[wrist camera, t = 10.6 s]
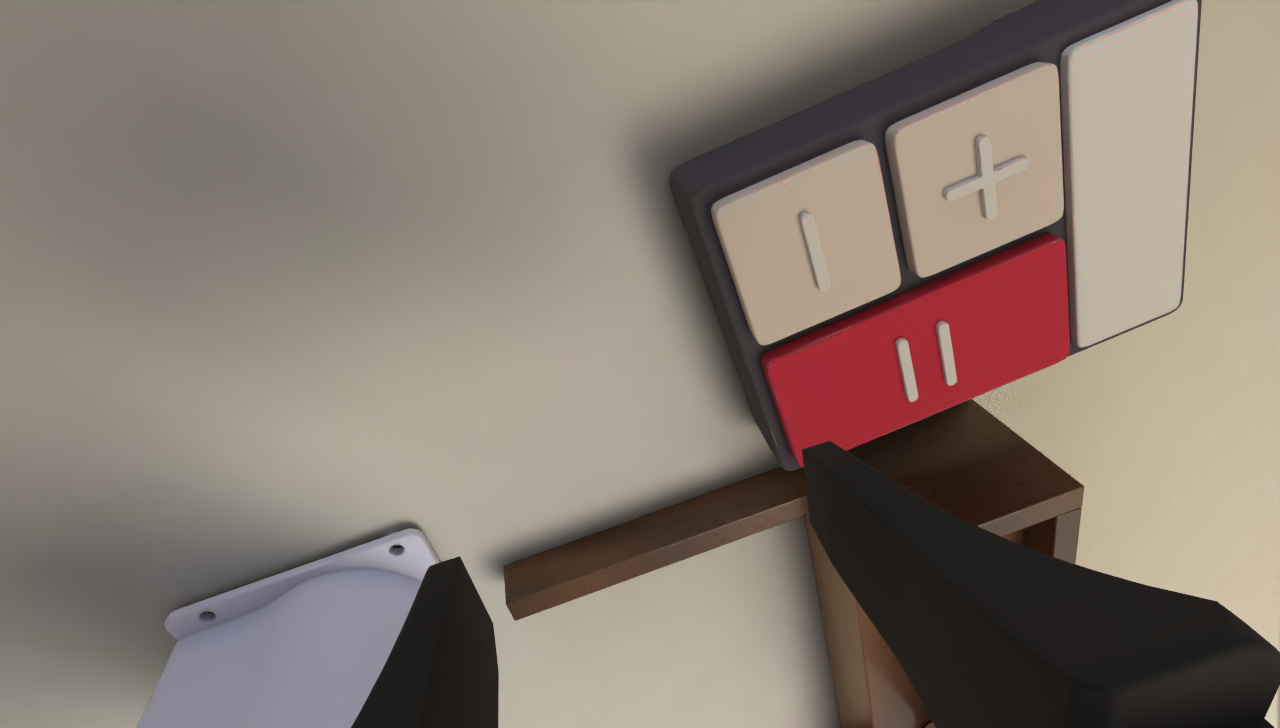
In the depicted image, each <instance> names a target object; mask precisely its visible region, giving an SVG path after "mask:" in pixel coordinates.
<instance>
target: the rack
mask: <svg viewBox="0 0 1280 728" xmlns="http://www.w3.org/2000/svg"><path fill="white" fill-rule="evenodd" d="M847 452H848V453H850V454H851V455H853V456H855V457H856V458H858V459H859V460H861V461H862V462H864V463H865V464H867V465H869V466H870V467H872V468H873V469H875V470H876V471H878V472H880V473H881V474H883V475H884V476H886V477H888V478H889V479H891V480H893V481H894V482H896V483H898V484H899V485H901V486H903V487H905V488H906V489H908V490H910V491H911V492H913V493H915V494H917V495H918V496H920V497H922V498H923V499H925V500H927V501H929V502H931V503H933V504H934V505H936V506H938V507H940V508H942V509H944V510H946V511H948V512H950V513H951V514H953V515H955V516H957V517H959V518H961V519H963V520H965V521H967V522H969V523H972V524H974V525H976V526H978V527H980V528H982V529H985V530H987V531H989V532H992V533H994V534H996V535H999V536H1001V537H1003V538H1006V539H1008V540H1010V541H1012V542H1015V543H1017V544H1020V545H1023V546H1025V547H1028V548H1030V549H1033V550H1035V551H1038V552H1041V553H1044V554H1047V555H1050V556H1052V557H1055V558H1058V559H1061V560H1064V561H1066V562H1069V563H1072V564H1075V561H1076V552H1077V544H1078V535H1079V526H1080V517H1081V507H1082V501H1083V492H1084V486H1083V485H1082V484H1081V483H1079V482H1078V481H1077V480H1075V479H1074V478H1073V477H1072V476H1070V475H1069V474H1068V473H1066V472H1065V471H1064V470H1062V469H1061V468H1060V467H1059V466H1057V465H1056V464H1055V463H1053V462H1052V461H1051V460H1050V459H1048V458H1047V457H1046V456H1044V455H1043V454H1042V453H1041V452H1039V451H1038V450H1037V449H1035V448H1034V447H1033V446H1032V445H1030V444H1029V443H1028V442H1026V441H1025V440H1024V439H1023V438H1021V437H1020V436H1019V435H1017V434H1016V433H1015V432H1014V431H1012V430H1011V429H1010V428H1008V427H1007V426H1006V425H1005V424H1003V423H1002V422H1001V421H999V420H998V419H997V418H996V417H994V416H993V415H992V414H990V413H989V412H988V411H987V410H985V409H984V408H983V407H981V406H980V405H979V404H978V403H976V402H975V401H974V400H972V399H970V400H967V401H965V402H962V403H960V404H957V405H955V406H953V407H950V408H948V409H945V410H943V411H941V412H938V413H936V414H933V415H931V416H929V417H926V418H924V419H921V420H919V421H917V422H914V423H912V424H909V425H907V426H905V427H902V428H900V429H897V430H895V431H893V432H890V433H888V434H885V435H883V436H881V437H878V438H876V439H873V440H871V441H869V442H866V443H864V444H861V445H859V446H857V447H854V448H852V449H850V450H847ZM804 515H805V520H806V526H807V532H808V537H809V543H810V549H811V555H812V560H813V566H814V572H815V577H816V583H817V589H818V595H819V600H820V606H821V612H822V618H823V623H824V629H825V635H826V641H827V646H828V652H829V658H830V664H831V669H832V675H833V681H834V687H835V692H836V698H837V704H838V709H839V715H840V721H841V727H842V728H924V727H926V726H927V725H928V724H929V723H932V722H933V721H932V719H931V718H930V716H929V714H928V712H927V710H926V709H925V707H924V705H923V703H922V702H921V700H920V698H919V696H918V694H917V693H916V691H915V689H914V687H913V685H912V684H911V682H910V680H909V678H908V676H907V675H906V673H905V671H904V670H903V668H902V667H901V665H900V663H899V662H898V660H897V659H896V657H895V656H894V654H893V652H892V651H891V650H890V648H889V647H888V645H887V644H886V642H885V641H884V639H883V638H882V637H881V635H880V634H879V632H878V631H877V629H876V628H875V626H874V625H873V623H872V622H871V621H870V619H869V618H868V616H867V615H866V613H865V612H864V610H863V609H862V608H861V606H860V605H859V603H858V602H857V600H856V599H855V597H854V596H853V595H852V593H851V592H850V590H849V589H848V587H847V586H846V584H845V583H844V581H843V580H842V578H841V577H840V575H839V574H838V572H837V571H836V569H835V568H834V566H833V565H832V563H831V562H830V560H829V558H828V556H827V554H826V552H825V550H824V548H823V547H822V545H821V543H820V541H819V539H818V537H817V535H816V533H815V531H814V529H813V527H812V525H811V523H810V520H809V511H808V502H807V493H806V483H805V474H804V467H802V468H799V469H797V470H793V471H787V470H785V469H783V468H782V467H780V468H777V469H775V470H772V471H769V472H766V473H764V474H761V475H758V476H755V477H752V478H750V479H747V480H744V481H741V482H738V483H736V484H733V485H730V486H727V487H724V488H722V489H719V490H716V491H713V492H710V493H708V494H705V495H702V496H699V497H696V498H694V499H691V500H688V501H685V502H683V503H680V504H677V505H674V506H671V507H669V508H666V509H663V510H660V511H657V512H655V513H652V514H649V515H646V516H643V517H641V518H638V519H635V520H632V521H629V522H627V523H624V524H621V525H618V526H615V527H613V528H610V529H607V530H604V531H602V532H599V533H596V534H593V535H590V536H588V537H585V538H582V539H579V540H576V541H574V542H571V543H568V544H565V545H562V546H560V547H557V548H554V549H551V550H548V551H546V552H543V553H540V554H537V555H534V556H532V557H529V558H526V559H523V560H521V561H518V562H515V563H512V564H509V565H507V566H504V578H505V595H506V605H507V607H508V609H509V611H510V613H511V615H512V616H513V618H514V620H515V621H516V620H519V619H521V618H524V617H527V616H530V615H532V614H535V613H538V612H541V611H543V610H546V609H549V608H552V607H554V606H557V605H560V604H563V603H565V602H568V601H571V600H574V599H576V598H579V597H582V596H585V595H587V594H590V593H593V592H596V591H598V590H601V589H604V588H607V587H609V586H612V585H615V584H618V583H620V582H623V581H626V580H629V579H631V578H634V577H637V576H640V575H642V574H645V573H648V572H651V571H653V570H656V569H659V568H662V567H664V566H667V565H670V564H673V563H675V562H678V561H681V560H684V559H686V558H689V557H692V556H694V555H697V554H700V553H703V552H705V551H708V550H711V549H714V548H716V547H719V546H722V545H725V544H727V543H730V542H733V541H736V540H738V539H741V538H744V537H747V536H749V535H752V534H755V533H758V532H760V531H763V530H766V529H769V528H771V527H774V526H777V525H780V524H782V523H785V522H788V521H791V520H793V519H796V518H799V517H802V516H804Z"/></svg>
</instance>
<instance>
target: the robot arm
mask: <svg viewBox="0 0 1280 728" xmlns="http://www.w3.org/2000/svg"><path fill="white" fill-rule="evenodd" d="M802 456H803V465H804V474H805V483H806V493H807V502H808V511H809V520H810V523H811V525H812V527H813V529H814V531H815V533H816V535H817V537H818V539H819V541H820V543H821V545H822V547H823V548H824V550H825V552H826V554H827V556H828V558H829V560H830V562H831V563H832V565H833V566H834V568H835V569H836V571H837V572H838V574H839V575H840V577H841V578H842V580H843V581H844V583H845V584H846V586H847V587H848V589H849V590H850V592H851V593H852V595H853V596H854V597H855V599H856V600H857V602H858V603H859V605H860V606H861V608H862V609H863V610H864V612H865V613H866V615H867V616H868V618H869V619H870V621H871V622H872V623H873V625H874V626H875V628H876V629H877V631H878V632H879V634H880V635H881V637H882V638H883V639H884V641H885V642H886V644H887V645H888V647H889V648H890V650H891V651H892V652H893V654H894V656H895V657H896V659H897V660H898V662H899V663H900V665H901V667H902V668H903V670H904V671H905V673H906V675H907V676H908V678H909V680H910V682H911V684H912V685H913V687H914V689H915V691H916V693H917V694H918V696H919V698H920V700H921V702H922V703H923V705H924V707H925V709H926V710H927V712H928V714H929V716H930V718H931V719H932V721H933V723H934V725H935V727H936V728H1274V727H1273V726H1272V725H1271V724H1270V723H1269V722H1268V721H1266V720H1265V719H1264V718H1265V715H1266V713H1267V711H1268V709H1269V707H1270V705H1271V702H1272V700H1273V698H1274V696H1275V694H1276V692H1277V689H1278V687H1279V685H1280V652H1279V651H1278V650H1277V649H1276V648H1275V647H1274V646H1273V645H1271V644H1270V643H1269V642H1268V641H1266V640H1265V639H1264V638H1263V637H1262V636H1260V635H1259V634H1258V633H1257V632H1256V631H1254V630H1253V629H1252V628H1251V627H1250V626H1248V625H1247V624H1246V623H1245V622H1244V621H1242V620H1241V619H1240V618H1238V617H1237V616H1236V615H1234V614H1233V613H1232V612H1230V611H1229V610H1228V609H1226V608H1225V607H1224V606H1222V605H1221V604H1219V603H1218V602H1217V601H1212V600H1208V599H1204V598H1199V597H1195V596H1190V595H1186V594H1182V593H1177V592H1173V591H1169V590H1164V589H1160V588H1156V587H1151V586H1147V585H1143V584H1139V583H1136V582H1132V581H1129V580H1125V579H1122V578H1118V577H1115V576H1111V575H1108V574H1104V573H1101V572H1097V571H1094V570H1091V569H1088V568H1085V567H1081V566H1078V565H1075V564H1072V563H1069V562H1066V561H1064V560H1061V559H1058V558H1055V557H1052V556H1050V555H1047V554H1044V553H1041V552H1038V551H1035V550H1033V549H1030V548H1028V547H1025V546H1023V545H1020V544H1017V543H1015V542H1012V541H1010V540H1008V539H1006V538H1003V537H1001V536H999V535H996V534H994V533H992V532H989V531H987V530H985V529H982V528H980V527H978V526H976V525H974V524H972V523H969V522H967V521H965V520H963V519H961V518H959V517H957V516H955V515H953V514H951V513H950V512H948V511H946V510H944V509H942V508H940V507H938V506H936V505H934V504H933V503H931V502H929V501H927V500H925V499H923V498H922V497H920V496H918V495H917V494H915V493H913V492H911V491H910V490H908V489H906V488H905V487H903V486H901V485H899V484H898V483H896V482H894V481H893V480H891V479H889V478H888V477H886V476H884V475H883V474H881V473H880V472H878V471H876V470H875V469H873V468H872V467H870V466H869V465H867V464H865V463H864V462H862V461H861V460H859V459H858V458H856V457H855V456H853V455H851V454H850V453H848V452H847V451H845V450H844V449H842V448H841V447H839V446H837V445H836V444H834V443H833V442H831V441H827V442H824V443H821V444H817V445H814V446H811V447H808V448H805V449H802ZM393 545H401V546H403V547H401V548H394V547H392V546H393ZM207 611H208V612H212V613H213V614H210V613H207ZM165 628H166V630H167V631H168V632H169V633H170V634H171V635H172V636H173V638H174V639H175V640H176V641H177V642H176V644H175V646H174V648H173V651H172V653H171V655H170V657H169V659H168V661H167V663H166V666H165V668H164V670H163V672H162V674H161V676H160V678H159V681H158V683H157V685H156V687H155V689H154V691H153V693H152V696H151V698H150V700H149V702H148V704H147V706H146V708H145V711H144V713H143V715H142V717H141V719H140V721H139V723H138V726H137V728H498V664H497V654H496V645H495V636H494V628H493V623H492V621H491V619H490V616H489V614H488V612H487V610H486V608H485V606H484V604H483V602H482V600H481V598H480V596H479V594H478V592H477V590H476V588H475V586H474V584H473V582H472V580H471V578H470V576H469V574H468V572H467V570H466V568H465V566H464V564H463V562H462V560H461V558H460V557H457V558H453V559H450V560H447V561H444V562H441V563H440V561H439V560H438V558H437V556H436V555H435V553H434V551H433V549H432V548H431V546H430V544H429V543H428V541H427V539H426V537H425V536H424V534H423V533H422V532H421V531H419V530H417V529H405V530H402V531H399V532H397V533H394V534H391V535H388V536H385V537H382V538H379V539H377V540H374V541H371V542H368V543H365V544H362V545H359V546H357V547H354V548H351V549H348V550H345V551H342V552H340V553H337V554H334V555H331V556H328V557H325V558H322V559H320V560H317V561H314V562H311V563H308V564H305V565H302V566H300V567H297V568H294V569H291V570H288V571H285V572H282V573H280V574H277V575H274V576H271V577H268V578H265V579H262V580H260V581H257V582H254V583H251V584H248V585H245V586H243V587H240V588H237V589H234V590H231V591H228V592H225V593H223V594H220V595H217V596H214V597H211V598H208V599H205V600H203V601H200V602H197V603H194V604H191V605H188V606H185V607H183V608H180V609H177V610H175V611H173V612H171V613H170V614H169V616H168V617H167V619H166V621H165Z"/></svg>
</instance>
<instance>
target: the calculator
mask: <svg viewBox="0 0 1280 728" xmlns="http://www.w3.org/2000/svg"><path fill="white" fill-rule="evenodd" d="M1200 17H1201V0H1041V1H1039V2H1037V3H1034V4H1032V5H1030V6H1027V7H1025V8H1023V9H1021V10H1018V11H1016V12H1014V13H1012V14H1009V15H1007V16H1005V17H1003V18H1000V19H998V20H996V21H994V22H993V23H992V24H990V25H989V26H988V27H987V28H985V29H984V30H983V31H982V32H980V33H979V34H977V35H975V36H973V37H971V38H969V39H966V40H964V41H962V42H959V43H957V44H955V45H953V46H950V47H948V48H946V49H943V50H941V51H939V52H937V53H934V54H932V55H930V56H928V57H925V58H923V59H921V60H918V61H916V62H914V63H912V64H909V65H907V66H905V67H902V68H900V69H898V70H896V71H893V72H891V73H889V74H887V75H884V76H882V77H880V78H877V79H875V80H873V81H871V82H868V83H866V84H864V85H861V86H859V87H857V88H855V89H852V90H850V91H848V92H846V93H843V94H841V95H839V96H836V97H834V98H832V99H830V100H827V101H825V102H823V103H820V104H818V105H816V106H814V107H811V108H809V109H807V110H805V111H802V112H800V113H798V114H795V115H793V116H791V117H789V118H786V119H784V120H782V121H779V122H777V123H775V124H773V125H770V126H768V127H766V128H763V129H761V130H759V131H757V132H754V133H752V134H750V135H748V136H745V137H743V138H741V139H738V140H736V141H734V142H732V143H729V144H727V145H725V146H722V147H720V148H718V149H716V150H713V151H711V152H709V153H707V154H704V155H702V156H700V157H697V158H695V159H693V160H691V161H688V162H686V163H684V164H682V165H680V166H678V167H676V168H675V169H674V170H673V171H672V173H671V175H670V178H669V182H670V187H671V190H672V193H673V196H674V199H675V201H676V204H677V207H678V210H679V212H680V215H681V218H682V221H683V223H684V226H685V229H686V232H687V234H688V237H689V240H690V243H691V245H692V248H693V251H694V254H695V256H696V259H697V262H698V265H699V267H700V270H701V273H702V276H703V278H704V281H705V284H706V287H707V289H708V292H709V295H710V298H711V300H712V303H713V306H714V309H715V311H716V314H717V317H718V320H719V322H720V325H721V328H722V331H723V333H724V336H725V339H726V342H727V344H728V347H729V350H730V353H731V355H732V358H733V361H734V364H735V366H736V369H737V372H738V375H739V378H740V380H741V383H742V386H743V389H744V391H745V394H746V397H747V400H748V402H749V405H750V408H751V411H752V413H753V416H754V419H755V421H756V423H757V426H758V427H759V429H760V431H761V433H762V434H763V436H764V438H765V440H766V441H767V443H768V445H769V447H770V448H771V450H772V452H773V454H774V455H775V457H776V459H777V460H778V462H779V464H780V465H781V467H782V468H783V469H785V470H787V471H793V470H797V469H799V468H802V467H804V465H803V456H802V449H805V448H808V447H811V446H814V445H817V444H821V443H824V442H827V441H831V442H833V443H834V444H836V445H837V446H839V447H841V448H842V449H844V450H845V451H847V450H850V449H852V448H854V447H857V446H859V445H861V444H864V443H866V442H869V441H871V440H873V439H876V438H878V437H881V436H883V435H885V434H888V433H890V432H893V431H895V430H897V429H900V428H902V427H905V426H907V425H909V424H912V423H914V422H917V421H919V420H921V419H924V418H926V417H929V416H931V415H933V414H936V413H938V412H941V411H943V410H945V409H948V408H950V407H953V406H955V405H957V404H960V403H962V402H965V401H967V400H969V399H972V398H974V397H977V396H979V395H981V394H984V393H986V392H989V391H991V390H993V389H996V388H998V387H1001V386H1003V385H1005V384H1008V383H1010V382H1013V381H1015V380H1017V379H1020V378H1022V377H1024V376H1027V375H1029V374H1032V373H1034V372H1036V371H1039V370H1041V369H1044V368H1046V367H1048V366H1051V365H1053V364H1056V363H1058V362H1060V361H1062V360H1064V359H1065V358H1066V357H1068V356H1070V355H1073V354H1075V353H1078V352H1080V351H1082V350H1085V349H1087V348H1089V347H1092V346H1094V345H1097V344H1099V343H1101V342H1104V341H1106V340H1109V339H1111V338H1113V337H1116V336H1118V335H1121V334H1123V333H1125V332H1128V331H1130V330H1133V329H1135V328H1137V327H1140V326H1142V325H1145V324H1147V323H1149V322H1152V321H1154V320H1157V319H1159V318H1161V317H1164V316H1166V315H1168V314H1170V313H1172V312H1174V311H1175V310H1177V309H1178V308H1179V306H1180V305H1181V303H1182V299H1183V289H1184V273H1185V257H1186V241H1187V225H1188V209H1189V193H1190V177H1191V161H1192V145H1193V129H1194V113H1195V97H1196V81H1197V65H1198V49H1199V33H1200Z"/></svg>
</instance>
